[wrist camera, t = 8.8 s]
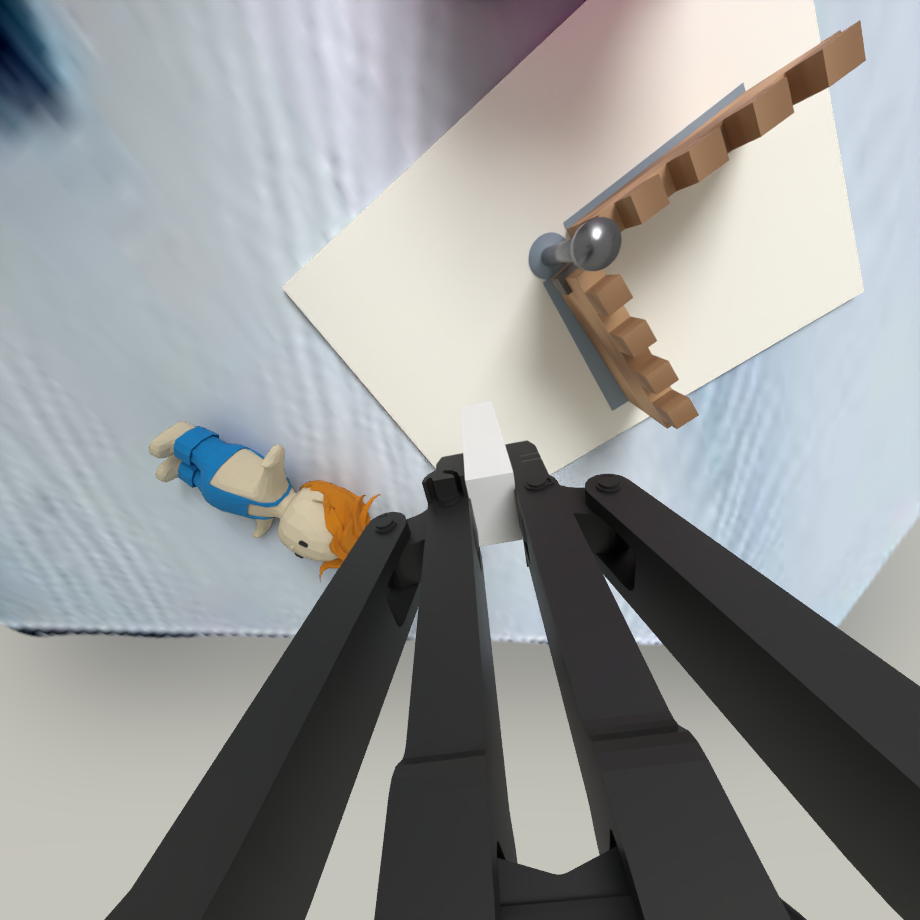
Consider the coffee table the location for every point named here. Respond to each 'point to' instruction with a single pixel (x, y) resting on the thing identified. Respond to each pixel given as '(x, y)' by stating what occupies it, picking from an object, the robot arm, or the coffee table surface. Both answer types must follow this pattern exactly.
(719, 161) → the fence fixed
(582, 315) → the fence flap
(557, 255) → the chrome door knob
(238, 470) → the toy
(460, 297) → the card
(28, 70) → the coffee table surface
